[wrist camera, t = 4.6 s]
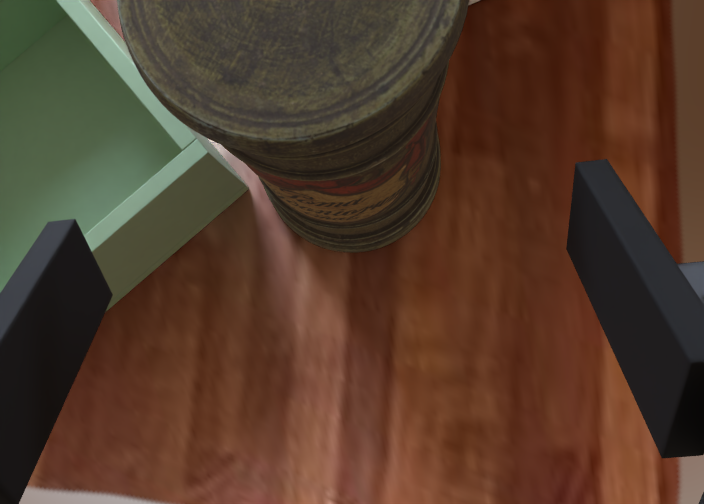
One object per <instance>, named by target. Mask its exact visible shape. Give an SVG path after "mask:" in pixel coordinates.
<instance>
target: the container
mask: <svg viewBox="0 0 704 504" xmlns="http://www.w3.org/2000/svg"><path fill="white" fill-rule="evenodd" d="M117 3H118V12H119V18H120V23H121V28H122V32H123V35H124V39H125V42H126V45H127V48H128V50H129V53H130V55H131V57H132V60H133V62H134V64H135V66H136V68H137V70H138V72H139V73H140V75H141V77H142V78H143V80H144V82H145V83H146V85H147V86H148V88H149V89H150V90H151V92H152V93H153V94H154V95H155V97H156V98H157V99H158V100H159V101H160V102H161V104H162V105H163V106H164V107H165V108H166V109H167V110H168V111H169V112H170V113H171V114H172V115H174V116H175V117H176V118H177V119H178V120H179V121H181V122H182V123H183V124H185V125H186V126H188V127H189V128H191V129H192V130H194V131H196V132H197V133H199V134H201V135H202V136H204V137H206V138H208V139H210V140H212V141H215V142H217V143H219V144H221V145H222V146H223V147H224V148H225V149H227V150H228V151H229V152H230V153H232V154H233V155H234V156H236V157H237V158H238V159H240V160H241V161H243V162H244V163H245V164H246V165H247V166H248V167H249V168H250V169H251V170H252V171H254V172H255V173H256V174H257V175H258V176H259V179H260V180H261V182H262V184H263V185H264V188H265V190H266V193H267V195H268V197H269V199H270V200H271V202H272V204H273V206H274V207H275V209H276V211H277V212H278V214H279V215H280V217H281V218H282V219H283V221H284V222H285V223H286V224H287V225H288V226H289V227H290V228H291V229H292V230H293V231H294V232H296V233H297V234H298V235H300V236H301V237H302V238H304V239H305V240H307V241H309V242H311V243H313V244H315V245H317V246H320V247H323V248H326V249H329V250H333V251H340V252H365V251H370V250H375V249H378V248H381V247H384V246H386V245H389V244H391V243H393V242H395V241H396V240H398V239H400V238H401V237H403V236H404V235H405V234H407V233H408V232H409V231H410V230H412V229H413V228H414V227H415V226H416V225H417V224H418V223H419V221H420V220H421V219H422V218H423V216H424V215H425V214H426V212H427V210H428V209H429V207H430V205H431V204H432V201H433V199H434V197H435V194H436V191H437V188H438V184H439V178H440V170H441V159H440V144H439V138H438V133H437V124H436V115H437V109H438V104H439V98H440V94H441V92H442V89H443V86H444V83H445V79H446V75H447V70H448V65H449V59H450V57H451V55H452V53H453V51H454V49H455V47H456V44H457V42H458V39H459V37H460V34H461V32H462V29H463V25H464V21H465V18H466V15H467V9H468V4H469V0H117Z"/></svg>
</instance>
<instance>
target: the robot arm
mask: <svg viewBox="0 0 704 504" xmlns="http://www.w3.org/2000/svg"><path fill="white" fill-rule="evenodd" d="M566 249H567V251H568V253H569V256H570V258H571V260H572V262H573V264H574V267H575V269H576V271H577V273H578V275H579V278H580V280H581V282H582V284H583V286H584V288H585V291H586V293H587V295H588V297H589V299H590V302H591V304H592V306H593V308H594V310H595V313H596V315H597V317H598V319H599V321H600V324H601V326H602V328H603V330H604V332H605V334H606V337H607V339H608V341H609V343H610V345H611V348H612V350H613V352H614V354H615V356H616V359H617V361H618V363H619V365H620V367H621V370H622V372H623V374H624V376H625V378H626V380H627V383H628V385H629V387H630V389H631V391H632V394H633V396H634V398H635V400H636V402H637V405H638V407H639V409H640V411H641V413H642V416H643V418H644V420H645V422H646V424H647V426H648V429H649V431H650V433H651V435H652V437H653V440H654V442H655V444H656V446H657V448H658V451H659V453H660V455H661V457H662V458H673V457H686V456H699V455H703V454H704V261H703V262H692V263H682V264H677V263H676V262H675V260H674V259H673V257H672V256H671V254H670V253H669V252H668V250H667V249H666V247H665V246H664V244H663V243H662V241H661V240H660V238H659V237H658V235H657V234H656V232H655V231H654V229H653V228H652V226H651V225H650V223H649V222H648V220H647V219H646V217H645V216H644V214H643V213H642V211H641V210H640V208H639V207H638V205H637V204H636V202H635V201H634V199H633V198H632V196H631V195H630V193H629V192H628V190H627V189H626V187H625V186H624V184H623V183H622V181H621V180H620V178H619V177H618V175H617V174H616V172H615V171H614V169H613V168H612V166H611V165H610V163H609V162H608V160H607V159H604V160H595V161H586V162H577V163H576V164H575V174H574V183H573V192H572V202H571V211H570V220H569V229H568V239H567V248H566ZM112 296H113V294H112V292H111V290H110V288H109V286H108V284H107V282H106V280H105V278H104V276H103V274H102V272H101V270H100V268H99V266H98V264H97V261H96V259H95V257H94V255H93V253H92V251H91V249H90V247H89V245H88V243H87V241H86V239H85V237H84V235H83V233H82V231H81V229H80V227H79V225H78V223H77V221H76V219H69V220H60V221H51V222H48V223H47V224H46V226H45V227H44V229H43V230H42V232H41V233H40V235H39V236H38V238H37V239H36V241H35V242H34V244H33V245H32V247H31V248H30V249H29V251H28V252H27V254H26V255H25V257H24V258H23V260H22V261H21V263H20V264H19V266H18V267H17V269H16V270H15V272H14V273H13V275H12V276H11V278H10V279H9V281H8V282H7V284H6V285H5V287H4V288H3V290H2V291H1V293H0V504H19V501H20V499H21V497H22V495H23V493H24V491H25V488H26V486H27V484H28V482H29V480H30V477H31V475H32V473H33V471H34V469H35V466H36V464H37V462H38V460H39V457H40V455H41V453H42V451H43V449H44V446H45V444H46V442H47V440H48V438H49V435H50V433H51V431H52V429H53V427H54V424H55V422H56V420H57V418H58V415H59V413H60V411H61V409H62V407H63V404H64V402H65V400H66V398H67V396H68V393H69V391H70V389H71V387H72V385H73V382H74V380H75V378H76V376H77V374H78V371H79V369H80V367H81V365H82V362H83V360H84V358H85V356H86V354H87V351H88V349H89V347H90V345H91V343H92V340H93V338H94V336H95V334H96V332H97V329H98V327H99V325H100V323H101V320H102V318H103V316H104V314H105V312H106V309H107V307H108V305H109V303H110V301H111V298H112ZM699 504H704V493H703V495H702V497H701V500H700V502H699Z"/></svg>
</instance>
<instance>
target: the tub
mask: <svg viewBox="0 0 704 504" xmlns="http://www.w3.org/2000/svg"><path fill="white" fill-rule="evenodd" d="M248 189H249V187H248V186H247V185H246V184H245V182H244V181H243V180H242V179H241V178H240V176H239V175H238V174H237V173H236V172H235V171H234V169H233V168H232V167H231V166H230V165H229V164H228V162H227V161H226V160H225V159H224V158H223V157H222V155H221V154H220V153H219V152H218V151H217V149H216V148H215V147H214V146H213V145H212V144H211V142H210V141H209V140H208V139H207V138H206V137H204V136H202V135H201V134H199V133H197V132H196V131H194V130H192V129H191V128H189V127H188V126H186V125H185V124H183V123H182V122H181V121H179V120H178V119H177V118H176V117H175V116H174V115H172V114H171V113H170V112H169V111H168V110H167V109H166V108H165V107H164V106H163V105H162V104H161V102H160V101H159V100H158V99H157V98H156V97H155V95H154V94H153V93H152V92H151V90H150V89H149V88H148V86H147V85H146V83H145V82H144V80H143V78H142V77H141V75H140V73H139V72H138V70H137V68H136V66H135V64H134V62H133V60H132V57H131V55H130V53H129V50H128V48H127V45H126V43H125V41H124V40H123V39H122V38H121V37H120V36H119V34H118V33H117V32H116V31H115V30H114V28H113V27H112V26H111V25H110V24H109V23H108V21H107V20H106V19H105V18H104V17H103V16H102V14H101V13H100V12H99V11H98V10H97V8H96V7H95V6H94V5H93V4H92V3H91V1H90V0H0V293H1V291H2V290H3V288H4V287H5V285H6V284H7V282H8V281H9V279H10V278H11V276H12V275H13V273H14V272H15V270H16V269H17V267H18V266H19V264H20V263H21V261H22V260H23V258H24V257H25V255H26V254H27V252H28V251H29V249H30V248H31V247H32V245H33V244H34V242H35V241H36V239H37V238H38V236H39V235H40V233H41V232H42V230H43V229H44V227H45V226H46V224H47V223H48V222H51V221H60V220H69V219H76V221H77V223H78V225H79V227H80V229H81V231H82V233H83V235H84V237H85V239H86V241H87V243H88V245H89V247H90V249H91V251H92V253H93V255H94V257H95V259H96V261H97V264H98V266H99V268H100V270H101V272H102V274H103V276H104V278H105V280H106V282H107V284H108V286H109V288H110V290H111V292H112V294H113V296H112V298H111V301H110V303H109V305H108V307H107V309H106V311H108V310H109V309H110V308H111V307H112V306H113V305H115V304H116V303H117V302H118V301H119V300H120V299H122V298H123V297H124V296H125V295H126V294H127V293H129V292H130V291H131V290H132V289H133V288H134V287H135V286H137V285H138V284H139V283H140V282H141V281H142V280H144V279H145V278H146V277H147V276H148V275H149V274H151V273H152V272H153V271H154V270H155V269H156V268H158V267H159V266H160V265H161V264H162V263H163V262H165V261H166V260H167V259H168V258H169V257H170V256H172V255H173V254H174V253H175V252H176V251H177V250H179V249H180V248H181V247H182V246H183V245H184V244H185V243H187V242H188V241H189V240H190V239H191V238H192V237H194V236H195V235H196V234H197V233H198V232H199V231H201V230H202V229H203V228H204V227H205V226H206V225H208V224H209V223H210V222H211V221H212V220H213V219H215V218H216V217H217V216H218V215H219V214H220V213H222V212H223V211H224V210H225V209H226V208H227V207H229V206H230V205H231V204H232V203H233V202H234V201H236V200H237V199H238V198H239V197H240V196H241V195H242V194H244V193H245V192H246V191H247V190H248Z"/></svg>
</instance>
